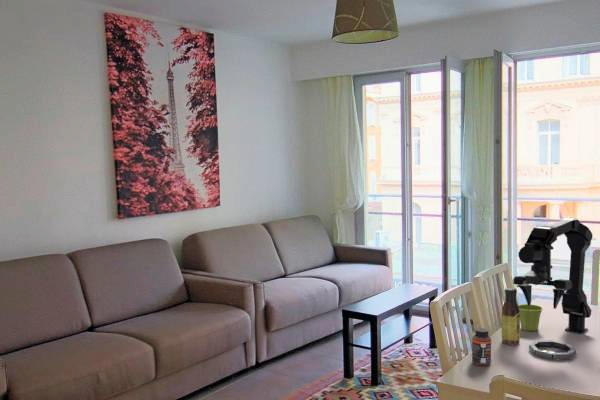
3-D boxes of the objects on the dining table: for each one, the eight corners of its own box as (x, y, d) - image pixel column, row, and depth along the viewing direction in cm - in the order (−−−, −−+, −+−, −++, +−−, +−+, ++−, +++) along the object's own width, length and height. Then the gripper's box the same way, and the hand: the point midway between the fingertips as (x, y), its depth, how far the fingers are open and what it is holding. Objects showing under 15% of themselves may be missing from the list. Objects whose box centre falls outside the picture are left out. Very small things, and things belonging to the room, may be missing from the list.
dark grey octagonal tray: (540, 343, 210) (540, 337, 210) (581, 352, 200) (581, 346, 200) (523, 353, 200) (523, 347, 200) (565, 363, 190) (565, 356, 190)
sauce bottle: (521, 346, 207) (521, 291, 205) (502, 345, 208) (503, 291, 207) (518, 340, 213) (518, 287, 212) (500, 339, 215) (500, 286, 213)
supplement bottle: (488, 367, 188) (488, 333, 187) (469, 364, 191) (470, 330, 190) (492, 361, 193) (493, 328, 192) (474, 358, 196) (475, 326, 195)
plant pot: (512, 329, 226) (512, 307, 225) (522, 323, 233) (523, 302, 232) (536, 334, 220) (536, 312, 219) (546, 328, 226) (546, 306, 226)
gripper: (505, 261, 206) (505, 305, 206) (558, 265, 193) (558, 312, 192) (520, 260, 214) (520, 303, 213) (572, 263, 200) (572, 309, 200)
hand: (541, 307), depth 204 cm, fingers open, 9 cm apart
